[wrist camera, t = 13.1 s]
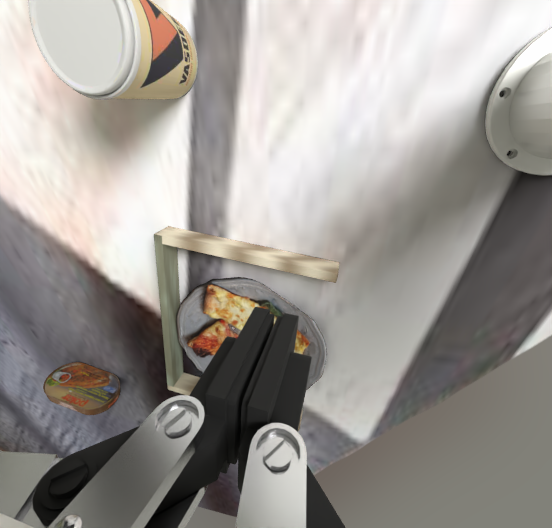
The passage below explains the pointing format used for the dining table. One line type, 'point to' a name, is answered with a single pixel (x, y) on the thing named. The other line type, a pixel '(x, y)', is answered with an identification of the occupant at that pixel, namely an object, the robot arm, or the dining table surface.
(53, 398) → the tin
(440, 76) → the dining table surface
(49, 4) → the coffee cup
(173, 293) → the bay
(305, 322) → the food plate
